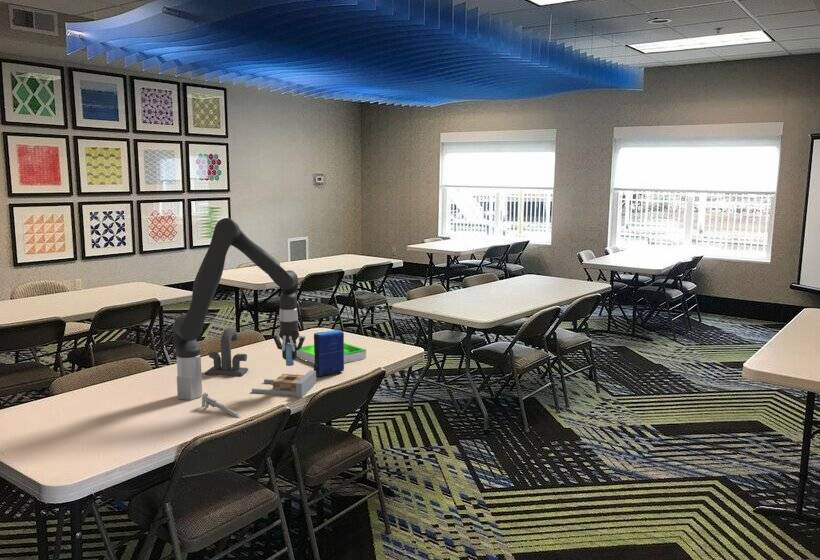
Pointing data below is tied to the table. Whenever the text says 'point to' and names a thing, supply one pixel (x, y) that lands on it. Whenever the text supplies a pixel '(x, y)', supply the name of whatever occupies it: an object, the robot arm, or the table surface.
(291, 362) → the dowel
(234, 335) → the faucet
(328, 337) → the book
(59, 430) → the table surface
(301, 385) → the backstop
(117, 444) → the table surface
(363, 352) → the tray
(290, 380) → the socket block
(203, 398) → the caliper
